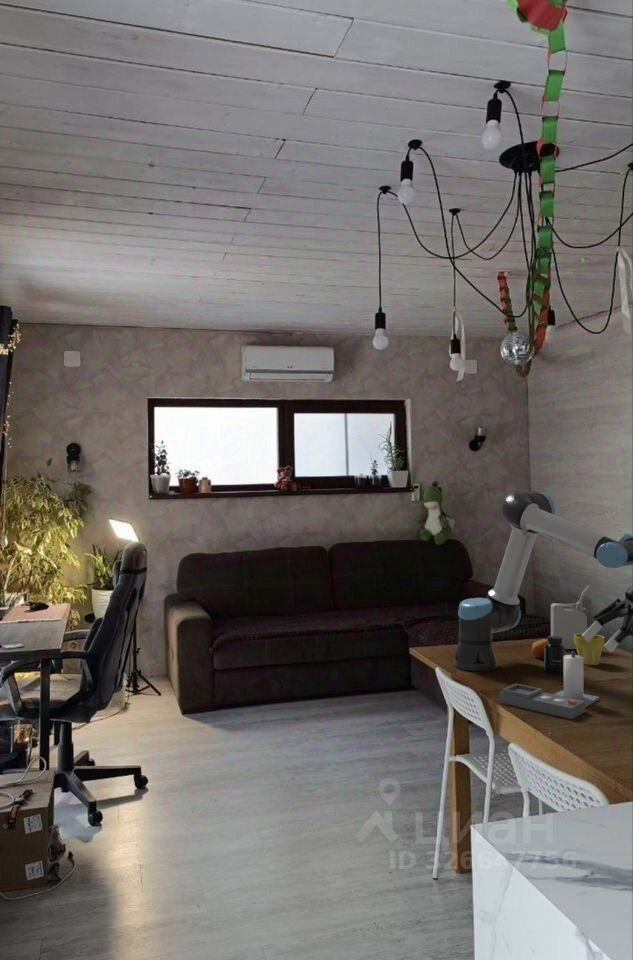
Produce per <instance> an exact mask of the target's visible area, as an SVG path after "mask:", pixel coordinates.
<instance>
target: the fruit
mask: <svg viewBox="0 0 633 960" xmlns="http://www.w3.org/2000/svg"><path fill="white" fill-rule="evenodd" d="M547 640H548V639H545V638H541V639H540V640H537V641H534V642H533V643H532V646H531V654H532V655H533V656H534V657H535V658H536V659H539V660H544V653H545V645H546V644H548V641H547Z"/></svg>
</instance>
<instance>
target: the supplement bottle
mask: <svg viewBox="0 0 633 960" xmlns="http://www.w3.org/2000/svg"><path fill="white" fill-rule="evenodd" d="M546 640H547V641H548V644H546V645H545V653H544V659H543V660H544V664H543V666H544V668H543V669H544V671H545V672H546V673H549V674H554V675H560V674H561V675H562V674H564V656H565V655H566V650H565V647H564V646H563V645H562V637H559V636H551V635H548V636H547V639H546Z"/></svg>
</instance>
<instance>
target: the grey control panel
mask: <svg viewBox="0 0 633 960" xmlns="http://www.w3.org/2000/svg"><path fill="white" fill-rule="evenodd" d="M498 693H499V699H498V700H499V703H500V704H502V705H503V704H504V705H508V706H513V707H517V708H521V709H526V710H528V711H529V710H530V711H533V712H538V713H539V712H540V713H543V714H547V715H551V716H556V717H559V718H560V717H561V718H564V719H569V720H573V719H575V718H577V717H579V716H580V715H582V714H584V713H585V712H586V707H585V701H582V700H578V699H573V698H568V697H563V696H559V695H554V694H555V693H549V692H544V691H543V689H542V688H540V687H534V686H531V685H525V684H520V683H514V684H511V685H509V686H507V687H505V688H502V691H500V692H498Z"/></svg>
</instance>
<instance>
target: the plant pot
mask: <svg viewBox="0 0 633 960" xmlns="http://www.w3.org/2000/svg"><path fill="white" fill-rule="evenodd" d="M583 634H584V633H582V634H575V635H574V644H575V645H576V648H577V650H576V652H577V655H578V656H582V657H583V665H588V666H598V665H599V664H600V660H601V656H602V651H603V648H605V646H604V645H605V644H606V643H605V642H606V641H605V636H603V635H600V634H596V635H595V636H594V637H593V638H592V639H591V640H590V641H589V642H587V641H586V640H585V639H584V638H583V637H582V635H583Z"/></svg>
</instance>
